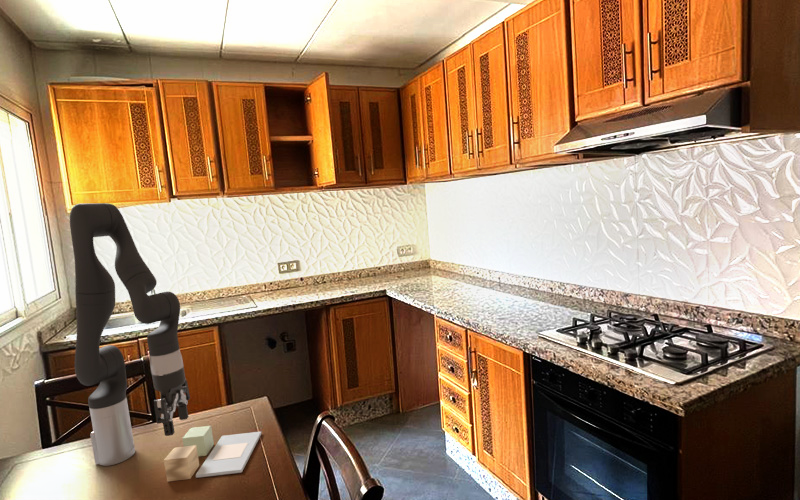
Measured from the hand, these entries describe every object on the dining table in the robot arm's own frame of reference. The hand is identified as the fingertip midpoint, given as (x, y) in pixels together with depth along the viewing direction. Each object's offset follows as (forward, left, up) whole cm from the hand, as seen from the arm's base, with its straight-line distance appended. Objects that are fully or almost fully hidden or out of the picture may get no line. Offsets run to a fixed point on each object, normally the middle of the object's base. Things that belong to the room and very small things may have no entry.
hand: (177, 426), depth 119 cm
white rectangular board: (+10, +7, -13) cm, 18 cm away
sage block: (0, +11, -13) cm, 17 cm away
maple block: (0, 0, -13) cm, 13 cm away
